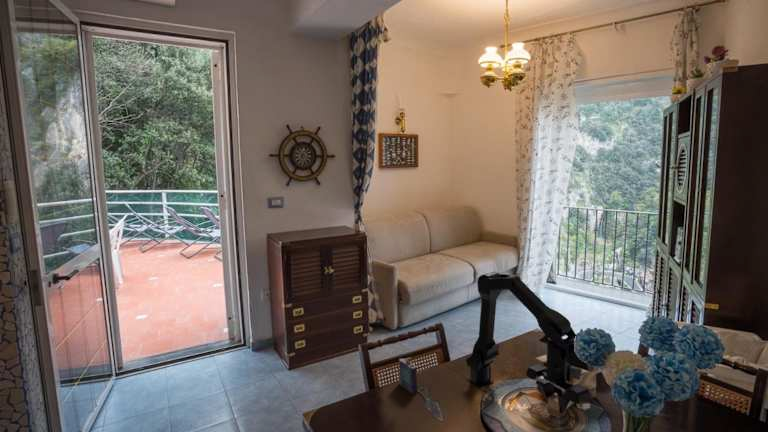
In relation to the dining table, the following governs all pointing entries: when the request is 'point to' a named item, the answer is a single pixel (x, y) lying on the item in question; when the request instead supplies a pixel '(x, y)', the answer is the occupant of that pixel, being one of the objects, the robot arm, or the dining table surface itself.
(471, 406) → the dining table surface
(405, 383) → the flask
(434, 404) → the throwing knife
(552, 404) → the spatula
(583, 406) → the steel token
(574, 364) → the robot arm
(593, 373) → the wooden crate
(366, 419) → the dining table surface
